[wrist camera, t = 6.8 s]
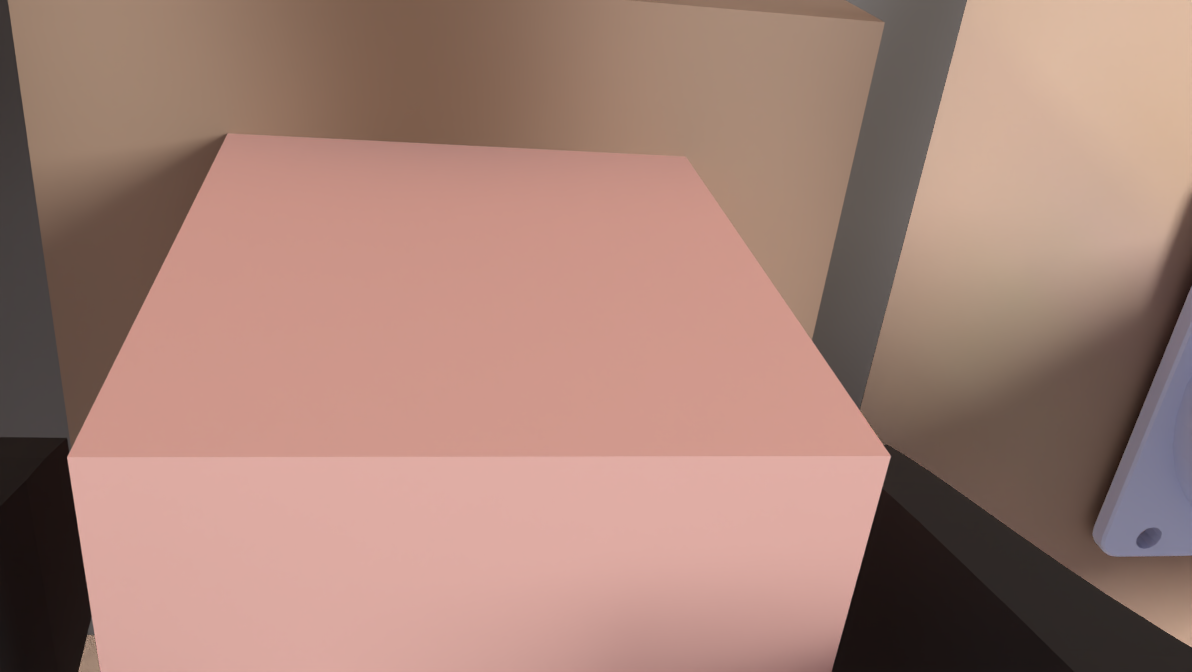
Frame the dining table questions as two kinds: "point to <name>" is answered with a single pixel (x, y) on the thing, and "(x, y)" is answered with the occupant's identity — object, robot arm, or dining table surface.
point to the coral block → (467, 428)
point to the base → (449, 137)
